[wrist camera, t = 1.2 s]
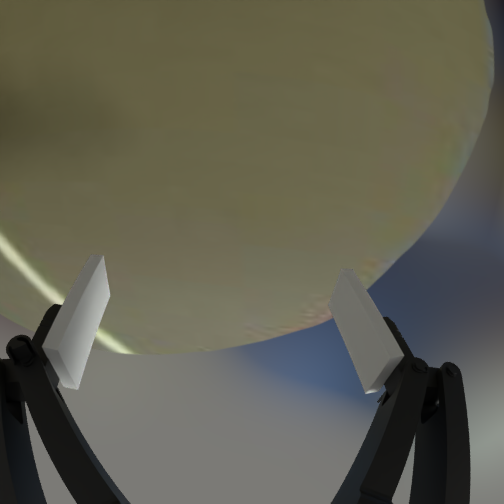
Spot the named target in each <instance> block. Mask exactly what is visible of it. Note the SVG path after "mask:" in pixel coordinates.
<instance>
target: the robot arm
mask: <svg viewBox="0 0 504 504" xmlns="http://www.w3.org/2000/svg"><path fill="white" fill-rule="evenodd" d="M109 298H110V291H109V286H108V280H107V274H106V268H105V262H104V255H92V254H91V255H90V257H89V259H88V260H87V262H86V263H85V265H84V267H83V269H82V270H81V272H80V274H79V275H78V277H77V279H76V281H75V282H74V284H73V286H72V288H71V290H70V292H69V293H68V295H67V297H66V299H65V301H64V303H63V305H58V304H54V305H53V306H51V307H50V308H49V309H48V310H47V312H46V313H45V315H44V317H43V320H42V321H41V323H40V326H39V327H38V329H37V331H36V333H35V335H34V337H33V339H32V341H31V339H30V338H29V337H28V336H26V335H18V336H15V337H14V338H12V339H11V340H10V341H9V342H8V344H7V347H6V353H7V354H8V356H9V358H10V359H1V358H0V504H47V502H46V500H45V496H44V493H43V490H42V487H41V483H40V480H39V477H38V472H37V468H36V464H35V460H34V455H33V451H32V446H31V441H30V435H29V430H28V423H27V416H26V409H25V402H26V403H27V406H28V408H29V411H30V413H31V416H32V418H33V421H34V423H35V426H36V428H37V430H38V433H39V435H40V437H41V439H42V442H43V444H44V446H45V448H46V450H47V452H48V454H49V456H50V458H51V460H52V462H53V464H54V465H55V467H56V469H57V471H58V473H59V475H60V476H61V478H62V480H63V482H64V483H65V485H66V487H67V488H68V490H69V491H70V493H71V495H72V496H73V498H74V499H75V501H76V503H77V504H130V502H129V501H128V500H127V499H126V498H125V496H124V495H123V494H122V492H121V491H120V490H119V489H118V487H117V486H116V485H115V483H114V482H113V480H112V479H111V478H110V476H109V475H108V474H107V472H106V471H105V469H104V468H103V466H102V465H101V463H100V462H99V460H98V459H97V458H96V456H95V454H94V453H93V451H92V449H91V448H90V446H89V445H88V443H87V441H86V440H85V438H84V436H83V435H82V433H81V431H80V429H79V428H78V426H77V424H76V422H75V420H74V418H73V417H72V415H71V413H70V411H69V409H68V407H67V405H66V403H65V401H64V399H63V397H62V395H61V393H60V391H59V389H58V388H57V385H58V382H59V380H60V381H61V383H62V385H63V386H64V387H67V388H72V389H77V390H78V389H79V385H80V381H81V378H82V375H83V372H84V368H85V365H86V362H87V358H88V356H89V353H90V350H91V347H92V344H93V341H94V338H95V335H96V332H97V329H98V327H99V324H100V321H101V318H102V316H103V313H104V310H105V308H106V305H107V303H108V300H109ZM328 306H329V308H330V310H331V313H332V315H333V317H334V319H335V322H336V324H337V326H338V329H339V331H340V333H341V335H342V338H343V340H344V342H345V345H346V347H347V350H348V352H349V354H350V356H351V359H352V362H353V364H354V366H355V369H356V371H357V374H358V376H359V379H360V381H361V383H362V386H363V388H364V391H365V393H371V392H377V391H379V390H380V388H381V387H382V386H383V385H385V388H386V391H385V392H384V393H383V395H382V396H381V397H380V398H379V400H378V401H377V402H378V403H379V402H380V401H381V402H380V404H379V407H378V409H377V412H376V414H375V417H374V419H373V422H372V424H371V426H370V429H369V431H368V433H367V435H366V438H365V440H364V442H363V444H362V446H361V448H360V450H359V453H358V455H357V457H356V459H355V461H354V463H353V465H352V467H351V469H350V471H349V472H348V474H347V476H346V478H345V480H344V482H343V483H342V485H341V487H340V489H339V491H338V493H337V494H336V496H335V497H334V499H333V501H332V502H331V504H393V503H392V497H393V495H394V493H395V490H396V487H397V485H398V483H399V480H400V478H401V475H402V472H403V470H404V467H405V464H406V461H407V458H408V455H409V452H410V449H411V446H412V443H413V439H414V436H415V453H414V466H413V476H412V485H411V494H410V500H409V504H469V502H470V443H469V428H468V418H467V409H466V401H465V393H464V387H463V381H462V375H461V371H460V369H459V368H458V367H457V366H456V365H455V364H453V363H451V362H445V363H444V364H443V365H442V366H441V367H440V368H433V367H428V365H427V363H426V362H425V361H423V360H422V359H420V358H417V357H414V356H413V354H412V352H411V351H410V349H409V347H408V345H407V344H406V342H405V340H404V338H402V335H401V333H400V332H399V331H398V329H397V327H396V325H395V323H394V322H393V321H391V320H390V319H389V318H388V317H382V316H381V314H380V312H379V311H378V309H377V307H376V306H375V304H374V302H373V301H372V299H371V298H370V296H369V294H368V293H367V291H366V289H365V288H364V286H363V284H362V283H361V281H360V280H359V278H358V277H357V275H356V273H355V272H354V270H353V269H342V268H341V270H340V273H339V276H338V279H337V282H336V285H335V288H334V291H333V293H332V296H331V299H330V302H329V304H328ZM415 433H416V435H415Z"/></svg>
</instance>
